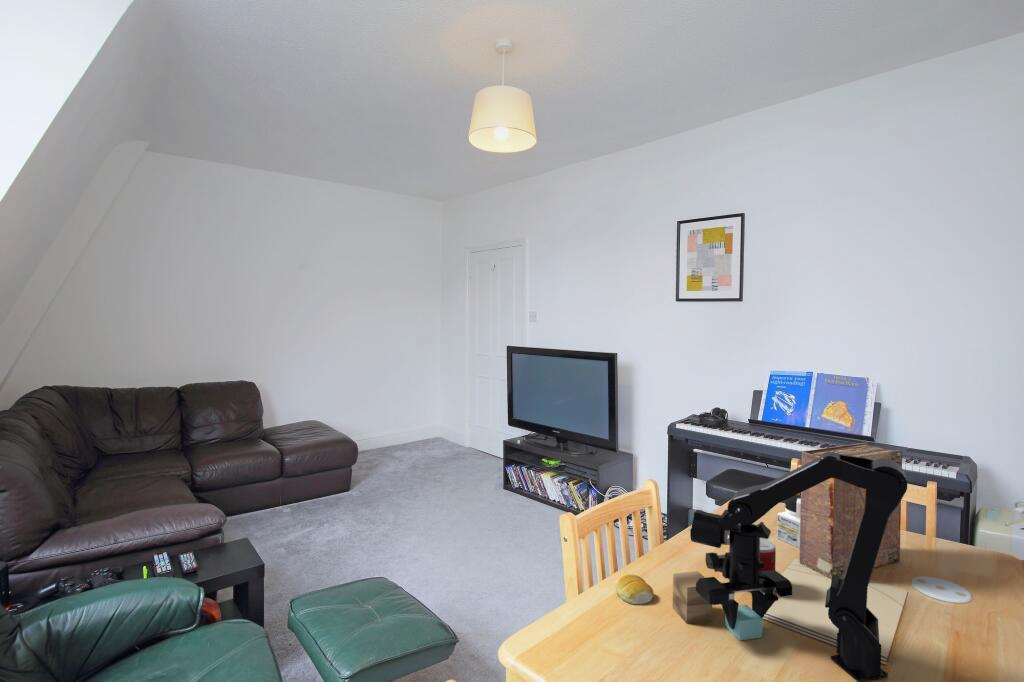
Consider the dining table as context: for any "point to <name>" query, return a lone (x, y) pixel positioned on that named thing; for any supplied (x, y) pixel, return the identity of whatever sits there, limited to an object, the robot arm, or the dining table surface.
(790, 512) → the container
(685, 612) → the tower base
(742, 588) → the robot arm
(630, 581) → the bread roll
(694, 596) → the tower top
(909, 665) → the dining table surface
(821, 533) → the book
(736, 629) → the teal block
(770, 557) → the canned food
